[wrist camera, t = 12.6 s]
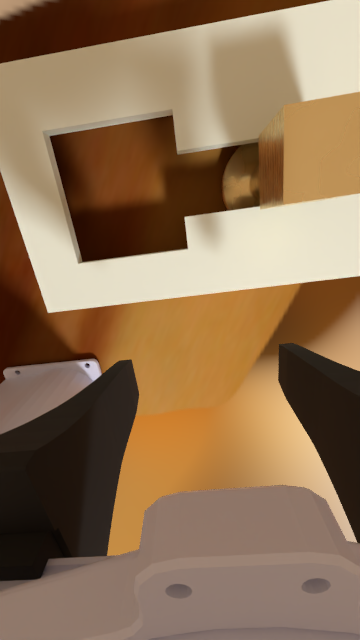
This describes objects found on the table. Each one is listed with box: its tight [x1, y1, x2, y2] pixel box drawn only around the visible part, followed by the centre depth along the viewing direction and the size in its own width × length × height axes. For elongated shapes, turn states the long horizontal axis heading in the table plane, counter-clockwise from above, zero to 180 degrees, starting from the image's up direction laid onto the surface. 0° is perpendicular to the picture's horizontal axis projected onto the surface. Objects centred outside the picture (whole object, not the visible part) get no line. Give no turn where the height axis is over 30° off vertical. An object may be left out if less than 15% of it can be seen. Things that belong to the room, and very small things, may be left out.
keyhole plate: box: [0, 0, 360, 313], centre depth 17 cm, size 24×14×4 cm, turn 97°
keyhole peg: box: [222, 92, 360, 211], centre depth 14 cm, size 6×6×9 cm
